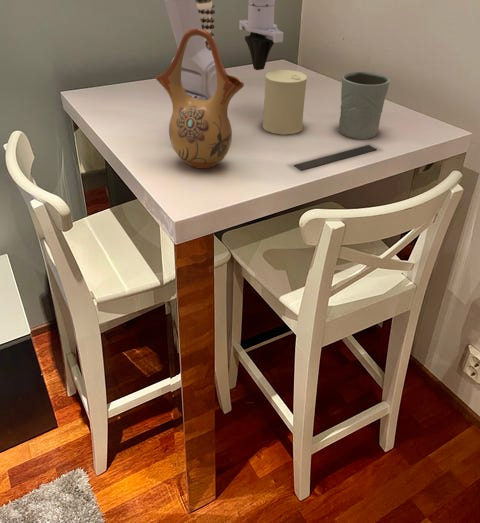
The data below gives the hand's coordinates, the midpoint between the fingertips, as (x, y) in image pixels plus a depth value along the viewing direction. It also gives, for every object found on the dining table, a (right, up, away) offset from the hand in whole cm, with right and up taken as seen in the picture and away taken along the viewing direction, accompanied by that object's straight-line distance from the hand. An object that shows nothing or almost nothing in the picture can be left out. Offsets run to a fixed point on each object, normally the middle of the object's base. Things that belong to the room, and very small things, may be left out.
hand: (258, 69), depth 120 cm
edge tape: (+15, -23, -14) cm, 31 cm away
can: (+5, -14, -1) cm, 15 cm away
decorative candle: (-16, +6, +25) cm, 30 cm away
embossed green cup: (+22, -15, -2) cm, 27 cm away
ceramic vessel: (-12, -26, -18) cm, 33 cm away
